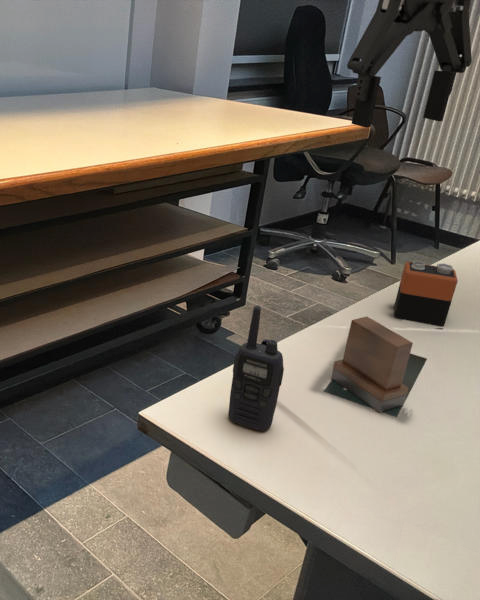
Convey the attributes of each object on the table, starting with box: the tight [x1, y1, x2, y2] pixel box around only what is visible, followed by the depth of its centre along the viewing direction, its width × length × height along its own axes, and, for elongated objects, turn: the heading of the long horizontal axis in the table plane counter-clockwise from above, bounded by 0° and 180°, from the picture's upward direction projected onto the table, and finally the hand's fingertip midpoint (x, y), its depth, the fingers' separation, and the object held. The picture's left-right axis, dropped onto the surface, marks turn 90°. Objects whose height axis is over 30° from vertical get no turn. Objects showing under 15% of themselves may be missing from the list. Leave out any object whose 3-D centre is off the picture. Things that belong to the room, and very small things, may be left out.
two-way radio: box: [227, 305, 285, 432], centre depth 76 cm, size 6×4×15 cm
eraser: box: [330, 316, 414, 413], centre depth 81 cm, size 8×4×8 cm, turn 24°
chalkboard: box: [323, 353, 428, 418], centre depth 87 cm, size 18×10×1 cm, turn 144°
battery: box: [393, 260, 459, 330], centre depth 99 cm, size 4×7×10 cm, turn 68°
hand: (397, 122), depth 94 cm, fingers open, 13 cm apart
